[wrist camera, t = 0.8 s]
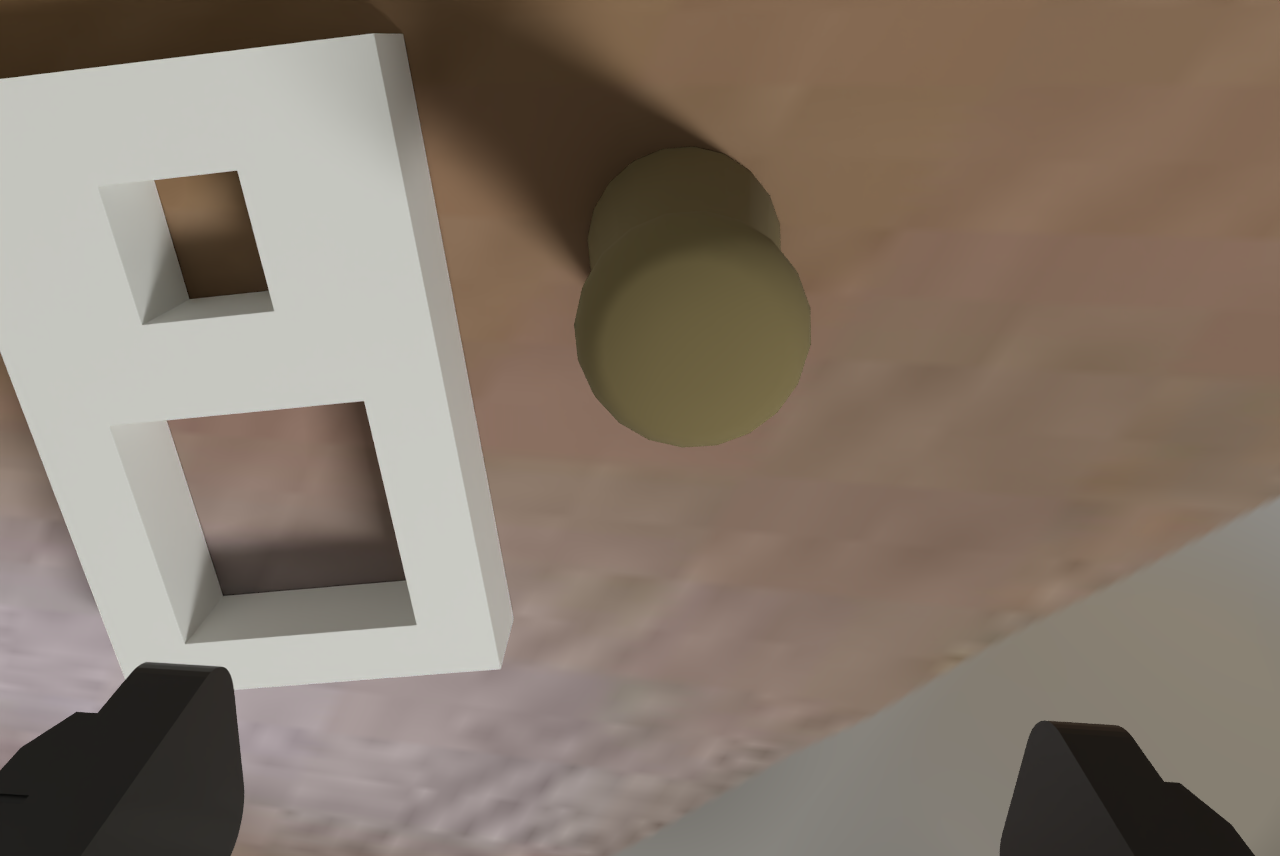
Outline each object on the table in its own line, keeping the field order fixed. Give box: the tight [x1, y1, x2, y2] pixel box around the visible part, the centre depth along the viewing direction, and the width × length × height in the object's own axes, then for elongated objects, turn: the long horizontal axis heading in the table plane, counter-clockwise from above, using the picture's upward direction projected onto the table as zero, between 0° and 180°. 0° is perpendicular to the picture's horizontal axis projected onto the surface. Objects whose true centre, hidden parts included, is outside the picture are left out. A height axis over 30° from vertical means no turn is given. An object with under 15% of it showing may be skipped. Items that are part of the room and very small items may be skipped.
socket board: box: [0, 33, 514, 690], centre depth 30 cm, size 13×20×3 cm, turn 6°
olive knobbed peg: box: [574, 147, 811, 447], centre depth 25 cm, size 6×6×11 cm
